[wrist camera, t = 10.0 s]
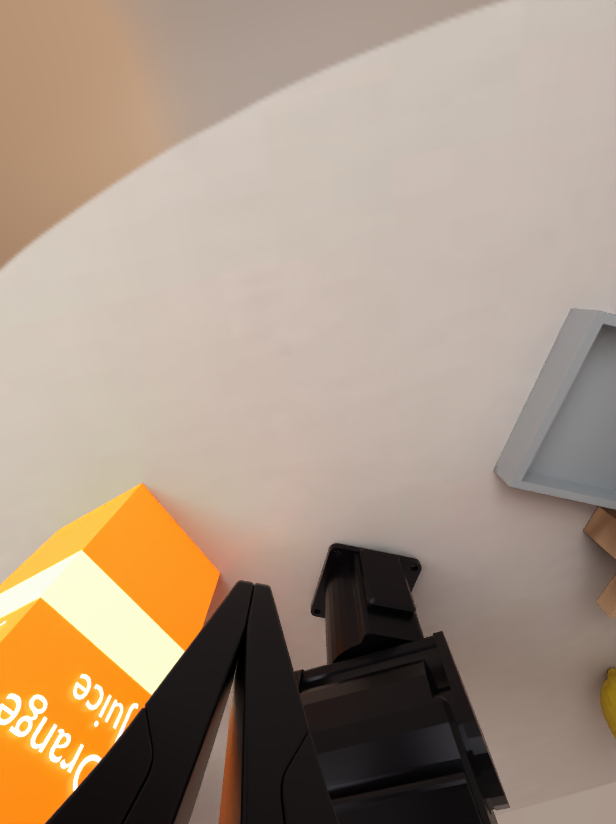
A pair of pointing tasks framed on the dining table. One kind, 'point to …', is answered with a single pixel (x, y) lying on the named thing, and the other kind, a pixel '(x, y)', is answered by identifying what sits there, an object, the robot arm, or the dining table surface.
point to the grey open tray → (570, 417)
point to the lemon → (609, 699)
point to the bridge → (612, 535)
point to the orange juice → (90, 644)
